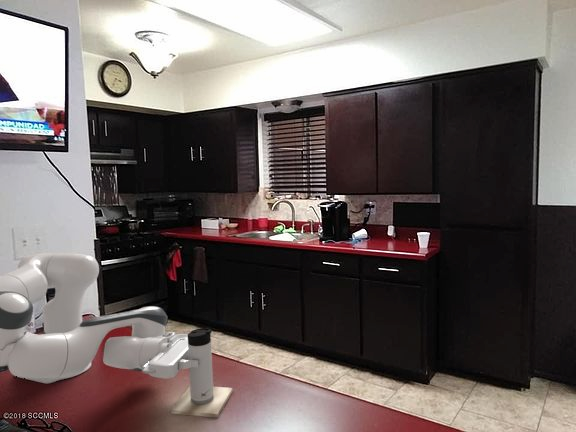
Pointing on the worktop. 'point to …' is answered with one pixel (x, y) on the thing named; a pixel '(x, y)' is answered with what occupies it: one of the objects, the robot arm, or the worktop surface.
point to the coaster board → (207, 409)
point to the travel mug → (201, 366)
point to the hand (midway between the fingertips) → (204, 356)
